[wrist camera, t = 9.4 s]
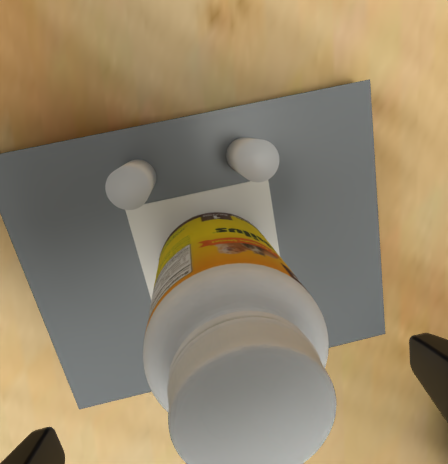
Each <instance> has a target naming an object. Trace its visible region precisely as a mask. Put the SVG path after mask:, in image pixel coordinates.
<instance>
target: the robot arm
mask: <svg viewBox="0 0 448 464" xmlns="http://www.w3.org/2000/svg"><path fill="white" fill-rule="evenodd" d="M409 347H410V365H411V368H412V370H413V372H414V374H415V376H416V377H417V378H418V380H419V381H420V383H421V384H422V386H423V387H424V389H425V390H426V392H427V393H428V395H429V396H430V398H431V399H432V401H433V402H434V403H435V405H436V406H437V408H438V409H439V411H440V412H441V414H442V415H443V417H444V418H445V420H446V421H447V422H448V340H447V339H444V338H441V337H438V336H435V335H432V334H429V333H422V334H418V335H414V336H412V337H411V338H410V340H409ZM0 464H65V454H64V450H63V448H62V446H61V443H60V441H59V439H58V437H57V434H56V432H55V430H54V429H53V428H52V427H46V428H42V429H38V430H35V431H33V432H32V433H31V434H29V435H28V436H27V437H26V438H25V439H24V440H23V441H22V442H21V443H20V444H19V445H18V446H17V447H16V448H15V449H14V450H13V451H12V452H11V453H10V454H9V455H8V456H7V457H6V458H5V459H4V460H3V461H2V462H1V463H0Z"/></svg>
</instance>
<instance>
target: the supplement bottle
mask: <svg viewBox="0 0 448 464" xmlns="http://www.w3.org/2000/svg"><path fill="white" fill-rule="evenodd" d="M328 346H329V341H328V332H327V327H326V324H325V321H324V317H323V315H322V313H321V311H320V309H319V307H318V305H317V304H316V302H315V301H314V299H313V298H312V296H311V295H310V294H309V292H308V291H307V290H306V288H305V287H304V286H303V285H302V284H301V282H300V281H299V280H298V278H297V277H296V276H295V275H294V274H293V272H292V271H291V270H290V269H289V267H288V266H287V264H286V263H285V262H284V261H283V260H282V258H281V257H280V256H279V255H278V254H277V252H276V251H275V250H274V248H273V247H272V246H271V245H270V243H269V242H268V241H267V240H266V238H265V237H264V236H263V235H262V234H261V232H260V231H259V230H258V229H257V228H256V227H255V226H254V225H253V224H251V223H250V222H249V221H247V220H245V219H244V218H242V217H239V216H237V215H234V214H231V213H226V212H207V213H202V214H199V215H196V216H193V217H191V218H189V219H187V220H186V221H184V222H183V223H181V224H180V225H179V226H177V227H176V228H175V229H174V230H173V232H172V233H171V234H170V235H169V237H168V238H167V240H166V242H165V243H164V246H163V248H162V251H161V254H160V257H159V263H158V269H157V273H156V279H155V283H154V289H153V295H152V300H151V306H150V311H149V317H148V322H147V327H146V332H145V338H144V348H143V363H144V370H145V375H146V378H147V381H148V384H149V386H150V388H151V391H152V393H153V394H154V396H155V397H156V399H157V400H158V402H159V403H160V404H161V406H162V407H163V408H164V409H165V410H166V411H167V412H168V425H169V432H170V437H171V440H172V442H173V445H174V447H175V449H176V451H177V452H178V454H179V456H180V457H181V458H182V459H183V460H184V461H185V462H186V463H187V464H303V463H304V462H305V461H307V460H308V459H309V458H310V457H311V456H312V455H314V454H315V453H316V452H317V450H318V449H319V448H320V447H321V446H322V444H323V443H324V441H325V440H326V438H327V436H328V435H329V433H330V430H331V428H332V426H333V423H334V419H335V414H336V395H335V390H334V387H333V383H332V381H331V379H330V377H329V375H328V373H327V372H326V370H325V366H326V362H327V358H328Z"/></svg>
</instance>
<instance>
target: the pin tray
mask: <svg viewBox="0 0 448 464" xmlns="http://www.w3.org/2000/svg"><path fill="white" fill-rule="evenodd" d="M207 212H226V213H231V214H234V215H237V216H239V217H242V218H244V219H245V220H247V221H249V222H250V223H251V224H253V225H254V226H255V227H256V228H257V229H258V230H259V231H260V232H261V234H262V235H263V236H264V237H265V238H266V240H267V241H268V242H269V243H270V245H271V246H272V247H273V248H274V250H275V251H276V252H277V254H278V255H279V256H280V257H281V258H282V260H283V261H284V262H285V263H286V264H287V266H288V267H289V269H290V270H291V271H292V272H293V274H294V275H295V276H296V277H297V278H298V280H299V281H300V282H301V284H302V285H303V286H304V287H305V288H306V290H307V291H308V292H309V294H310V295H311V296H312V298H313V299H314V301H315V302H316V304H317V305H318V307H319V309H320V311H321V313H322V315H323V317H324V321H325V324H326V327H327V332H328V341H329V346H328V348H330V347H334V346H338V345H342V344H346V343H350V342H354V341H358V340H362V339H366V338H370V337H374V336H378V335H382V334H385V321H384V304H383V288H382V271H381V254H380V238H379V221H378V205H377V188H376V172H375V155H374V138H373V122H372V105H371V89H370V80H365V81H360V82H355V83H350V84H345V85H340V86H335V87H330V88H325V89H320V90H315V91H310V92H305V93H300V94H295V95H290V96H285V97H280V98H276V99H271V100H266V101H261V102H256V103H251V104H246V105H241V106H236V107H231V108H226V109H221V110H216V111H211V112H206V113H201V114H196V115H191V116H186V117H181V118H176V119H171V120H166V121H161V122H156V123H151V124H146V125H141V126H136V127H131V128H126V129H121V130H116V131H111V132H106V133H101V134H96V135H91V136H86V137H81V138H76V139H71V140H66V141H61V142H56V143H51V144H47V145H42V146H37V147H32V148H27V149H22V150H17V151H12V152H7V153H2V154H0V214H1V216H2V219H3V221H4V224H5V226H6V229H7V231H8V234H9V236H10V239H11V241H12V244H13V246H14V249H15V251H16V254H17V256H18V259H19V261H20V264H21V266H22V268H23V271H24V273H25V276H26V278H27V281H28V283H29V286H30V288H31V291H32V293H33V296H34V298H35V301H36V303H37V306H38V308H39V311H40V313H41V316H42V318H43V321H44V323H45V326H46V328H47V331H48V333H49V336H50V338H51V341H52V343H53V345H54V348H55V350H56V353H57V355H58V358H59V360H60V363H61V365H62V368H63V370H64V373H65V375H66V378H67V380H68V383H69V385H70V388H71V390H72V393H73V395H74V398H75V400H76V403H77V405H78V408H79V409H83V408H87V407H91V406H95V405H99V404H103V403H107V402H111V401H115V400H119V399H123V398H127V397H131V396H135V395H140V394H144V393H148V392H152V391H151V388H150V386H149V384H148V381H147V378H146V375H145V370H144V363H143V348H144V338H145V332H146V327H147V322H148V317H149V311H150V306H151V300H152V295H153V289H154V283H155V279H156V273H157V269H158V263H159V257H160V254H161V251H162V248H163V246H164V243H165V242H166V240H167V238H168V237H169V235H170V234H171V233H172V232H173V230H174V229H175V228H176V227H177V226H179V225H180V224H181V223H183V222H184V221H186V220H187V219H189V218H191V217H193V216H196V215H199V214H202V213H207Z"/></svg>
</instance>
